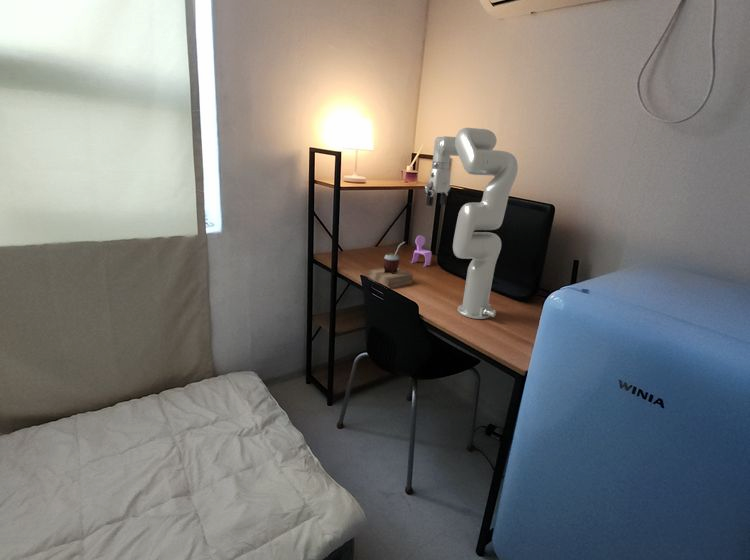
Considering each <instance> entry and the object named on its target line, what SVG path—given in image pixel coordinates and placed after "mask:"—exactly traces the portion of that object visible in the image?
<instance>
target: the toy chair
mask: <svg viewBox="0 0 750 560" xmlns="http://www.w3.org/2000/svg"><path fill="white" fill-rule="evenodd" d="M414 242H415V245H416V249H415V250H414V252H413V255H412V256H413V257H412V260H411V262H410V264H414V263H417V261H418V262H419V256H420V255H423V256H424V259H425V262H424V264H423V266H422V267H423V268H425V267H428V266H430V265H431V260H432V254H433V253H432V251H431V250H428V249H424V248H422V247H423V246H424V245H425V242H426V238H425V237H424V236H423V235H421V234H420V235H417V237H416V238H415V241H414ZM427 265H428V266H427Z"/></svg>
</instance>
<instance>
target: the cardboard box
mask: <svg viewBox="0 0 750 560" xmlns="http://www.w3.org/2000/svg"><path fill="white" fill-rule="evenodd" d="M368 271H369V272H368V273H369V274H368V278H369V277H370V278H372V279H374V280H376V281H378V282H380V283H382V284H384V285H386V286H388V287H391V288H390V289H392V288H393V289H394V288H399V287H402V286H409V285H412V284H413V274H412V273H410V272H408V271H406V270H403V269H401V268H400V267H398V268H397V272H393V273H394V274H391V273H390V272H389V273H384V271H385V270H384V267H378V268H372V269H369V270H368Z"/></svg>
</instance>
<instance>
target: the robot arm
mask: <svg viewBox="0 0 750 560" xmlns="http://www.w3.org/2000/svg"><path fill="white" fill-rule="evenodd" d="M496 145H497V137H496V134H495V133H494V132H493V131H491V129H486V128H477V127H475V128H474V127H464V128H462V129H459V131H458V132H457V134H456V135H455V136H447V135H446V136H437V137H436V138H435V140H434V146H433V155H432V166H431V171H430V174H429V179H428V184H427V185H425V186H424V189H425V194H426V201H425V202H426V203H425V204H426V206H431V207H433V203H434V195H435V193H437V194H438V193H439V194H441V195H440V199H439V205H443V206H444V205H445V206H446V205H447V198H448V196H449V193H450V191H451V187H452V186H451V184H450V182H451V181H450V180H451V173H450V172H451V171H450V163H451V156H452V157H453V156H454V157H455V156H456V157H459V159H460V161H461V164H462V166H463V169H464V170H465V172H466V173H468V174H469V175H473V176H491V177H493V176H494V177H493V178H492V179H491V180H490V181H489V182H488V183H487V184H486V186H485V188H484V190H483V195H482V198H481V201H480V202H475V201H474V202H466V203H465V204H463V205H462V206H461V207H460V210H459V212H458V214H457V215H458V216H457V220H456V224H455V230H454V235H453V243H452V251H453V254H454V256H455V257H456V258H458V259H465V260H467V259H468V260H469V259H472V260H471V261H470V263H469V265H468V267H467V273H466V279H465V286H464V290H463V299H462V304H460V305H458V306H457V312H458V313H459V314H460V315H462V316H463V317H466V318H470V319H474V320H485V319H488V318H490V317H492V318H496V314H497V310H495V309H492V308H491V307H492V305H491V303H489V301H490V296H491V290H492V284H493V279H494V273H495V268H496V265H497V260H498V258H499V255H500V252H501V250H502V240H501V238H500V237H499V235H498V234H496V233H493V232H488V231H494V230H497V229H499V228H500V227H501V226H502V224H503V221H504V217H505V213H506V209H507V206H508V200H509V196H510V192H511V190H512V187H513V185H514V183H515V181H516V178H517V175H518V167H519V165H518V160H517V158H516V156H515V155H514V154H512V153H511V152H508V151H504V150H496V149H495V147H496ZM482 231H483V232H482Z"/></svg>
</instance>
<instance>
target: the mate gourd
mask: <svg viewBox="0 0 750 560" xmlns="http://www.w3.org/2000/svg"><path fill="white" fill-rule="evenodd" d="M405 243H406V241H403V242H402V243H400V244H399V245H398V246H397V249H396V251H395V253H386V254H385V255H384V257H383V268H384V270H385V271H384V273H389V272H390V273H391V274H394V273H393V272H397V268H399V265H400V257H399V255H397V253H398V252H399V249H400V247H401V246H402V245H403V244H405Z"/></svg>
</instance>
